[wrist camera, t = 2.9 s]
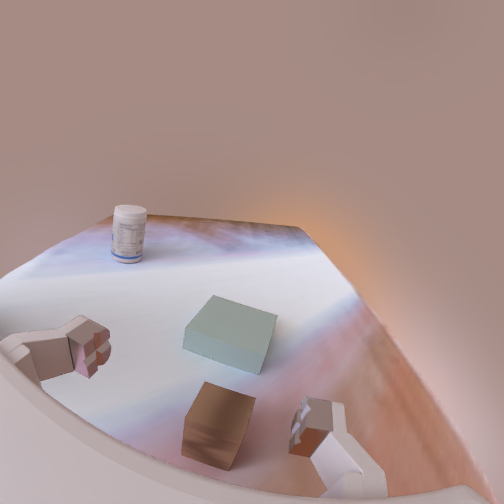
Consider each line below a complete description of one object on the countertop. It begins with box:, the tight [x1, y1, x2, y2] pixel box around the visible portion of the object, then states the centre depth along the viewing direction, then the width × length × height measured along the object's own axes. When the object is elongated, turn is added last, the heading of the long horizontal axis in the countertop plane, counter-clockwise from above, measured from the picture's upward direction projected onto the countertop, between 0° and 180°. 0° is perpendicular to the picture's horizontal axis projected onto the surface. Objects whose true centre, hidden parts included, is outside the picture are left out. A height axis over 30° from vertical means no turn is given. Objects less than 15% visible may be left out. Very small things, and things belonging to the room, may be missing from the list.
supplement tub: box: [111, 205, 147, 263], centre depth 71 cm, size 10×10×15 cm
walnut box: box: [181, 382, 256, 471], centre depth 26 cm, size 6×6×9 cm
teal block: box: [183, 295, 278, 375], centre depth 50 cm, size 14×14×5 cm
